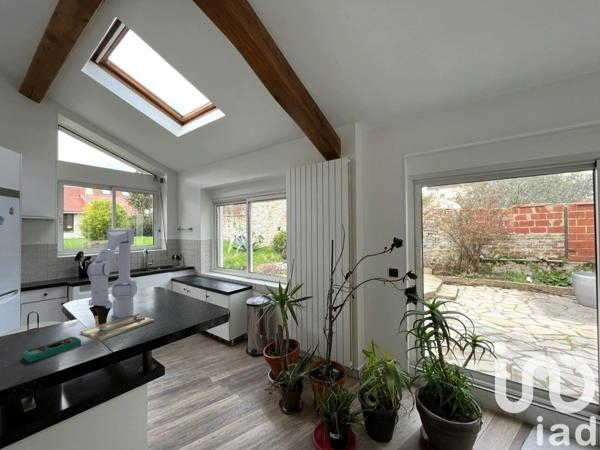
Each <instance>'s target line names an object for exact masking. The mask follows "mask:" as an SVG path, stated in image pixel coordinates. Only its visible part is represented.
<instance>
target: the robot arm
mask: <svg viewBox="0 0 600 450" xmlns="http://www.w3.org/2000/svg"><path fill="white" fill-rule="evenodd" d="M106 237H107V242H106V245H105V248H104V249H101V250H100V251H99V253H98V255H97V257H96V259H95V260H94V262H92V263H91V264H89V265H88V266H87V270H86V274H87V276H88V280H89V281H90V288H91V289H90V290H91V292H90V293H91V299H89V300H88V306H90V307H89V308H88V309H89V311H90V313H92V315H93V318H94V319H95V316H96V315H98V320H99V324H104V323H106V320H107V319H108V317H109V313H110V311H111V310H112V313H111V315H110V316H112V317H116V318H119V319H122V318H125V317H128V316H130V315H131V314H134V313H139V312H138V311H135V310H134V305H135V304H134V297H135V296H136V294H137V292H138V285H137V280H135V279H134V278H133V277H131V245H133V244H135V243H134V242H135V232H134V230H133V229H132V227H129V228H109V229H108V231H107V233H106ZM117 247H118V278H117V279H116V280H115V281H114V282H112V288H111V296H112V298H114V300H113V302H112V301H111V300H110V299H109V297H110V296H109V275H110V274H111V269H112V262H113V260H114V258H115V256H116V254H115V250H116V249H117ZM107 321H108V320H107Z"/></svg>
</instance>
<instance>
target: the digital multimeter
mask: <svg viewBox="0 0 600 450" xmlns="http://www.w3.org/2000/svg"><path fill="white" fill-rule="evenodd" d="M81 346H82V339H80V338H78V337H76V336H70V337H67V338H64V339H61V340H57V341H53V342H51V343H48V344H44V345H41V346H38V347H34V348H31V349H27V350H25V351H23V352H22V353H23V354H22V355H23V356H22V358H23V360H25V361H26V360H27V361H26V362H28V361H29V362H28V363H33V362H32V361H34V362H36V361H35V360H37V361H39V360H38V359H40V360H43V359H45V357H46V358H48V356H49V357H51V356H54V355H57V354H60V353H63V352H65V351H69V350H72V349H75V348H79V347H81ZM42 358H43V359H42Z"/></svg>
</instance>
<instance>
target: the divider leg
mask: <svg viewBox="0 0 600 450" xmlns="http://www.w3.org/2000/svg"><path fill="white" fill-rule="evenodd" d="M94 321H95V327H96V329H100V331H103V329H104V330H106V329H109V327H108V326H107V323H108V320H106V323H104V324H99V320H98V315H96V316H95V318H94Z"/></svg>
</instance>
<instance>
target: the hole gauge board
mask: <svg viewBox="0 0 600 450" xmlns="http://www.w3.org/2000/svg"><path fill="white" fill-rule="evenodd" d="M154 322H155V319H154V318H150V317H146V316H145V317H144V316H143V315H140V313H139V312H138V313H134V314H131V315H130V316H127V317H124V318H119V319H115V320H113V321H109V322H107V326H108V327H109V329H106V330H104V329H103V331H100V329H96V326H93V327H90V328H87V329H84V330H80V332H79V333H80V334H81V335H83V336H86V337H88V338H91V339H95V340H97V341H101V342H102V341H104V340H106V339H109V338H112V337H115V336H118V335H121V334H123V333H126V332H129V331H132V330H135V329H137V328H140V327H142V326H145V325H148V324H151V323H154Z"/></svg>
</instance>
